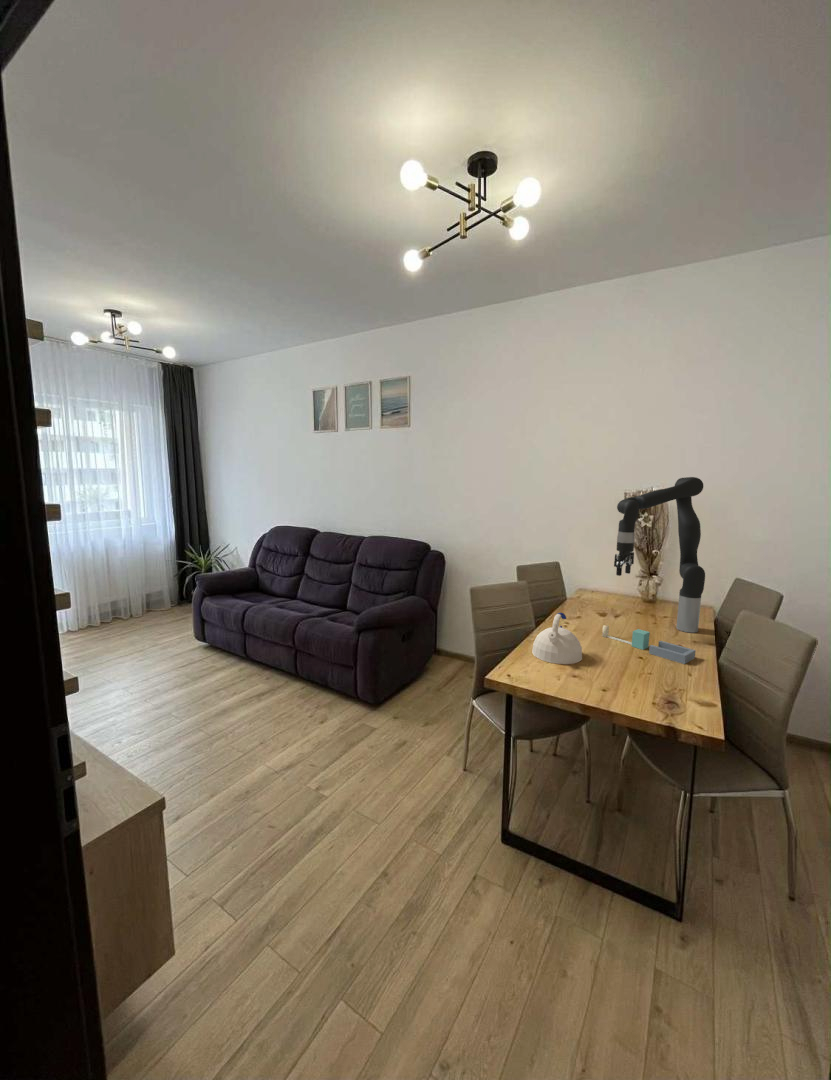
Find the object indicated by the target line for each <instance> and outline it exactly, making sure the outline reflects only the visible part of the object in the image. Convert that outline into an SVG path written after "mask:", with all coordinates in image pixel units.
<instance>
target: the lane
mask: <svg viewBox="0 0 831 1080" xmlns="http://www.w3.org/2000/svg"><path fill="white" fill-rule="evenodd" d="M657 645H658V646H657ZM657 645H653V644H649V647H648V650H649V651H648V654H649V655H653V656H656V657H659V658H662V659H667V660H670V661H672V662H676V663H680V664H683V665H686V664H687V663H689V662H691V661H693V660H695V659H696V649H693V648H688V647H685V646H681V645H679V644H674V643H670V642H668V641H663V640H659V641H658V644H657Z"/></svg>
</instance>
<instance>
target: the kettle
mask: <svg viewBox="0 0 831 1080" xmlns="http://www.w3.org/2000/svg"><path fill="white" fill-rule="evenodd" d="M566 619H567V616H566V613H563V612H558V613H556V614H555V615H554V618H553V621H552V627H547V628H546V629H543V630H542V631H540V632H539V633H538V634H537V636H536V637H535V639H534V641H533V644H532V651H531V652H532V655H533V656H534V657H535V658H537V659H538V660H541V661H543V662H547V663H550V664H556V665H572V664H577V663H579V662H580V661H582V660H583V647H582V646H581V642H580V640H579V639H578V637H577V636H576V635H575V634H574V633H573V632H572V631H570V630H569V629H566V628H564V627H563V625H560V626H559V624H560V620H566Z"/></svg>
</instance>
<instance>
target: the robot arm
mask: <svg viewBox="0 0 831 1080" xmlns="http://www.w3.org/2000/svg"><path fill="white" fill-rule="evenodd" d="M703 490H704V482H703V480H702V479H700V478H699V477H695V476H689V477H680V478H678V479H677V480H676V481H675V483H674V485H673V486H670V487H666V488H661V489H656V490H652V491H650V492H646V493H643V494H640V495H637V496H632V497H628V498H624V499H621V500H620V501H618V503H617V505H616V509H617V511H618V512H619V513H620V514H622V515H623V518H622V519H620V520H619V522H618V530H617V535H616V537H617V538H616V551H618V553H615V555H614V562H613V567H616V574H615V575H616V576H619V577H620V576H622V575H623V574H622V572H623V571H622V570H623V566H624V565H625V570H624V573H625V574H629V575H630V574H631V567H632V566H633V565H634V563H635V562H634V560H635V552H634V551H635V539H636V538H635V529H636V521H637V520H638V516H639V512H640V510H647V509H649V508H652V507H653V508H654V507H656V506H658V505H662V504H664V503H667V502H671V501H674V500H675V502H676V503H675V504H676V508H677V509H676V511H677V527H678V528H677V529H678V531H677V533H678V542H679V552H680V557H679V558H680V559H679V575H680V577H681V578H682V585H681V586H682V587H681V588H680V589H679V592H678V593H679V594H678V605H677V606H678V608H677V617H676V618H677V619H676V625H675V626H676V629H677V630H678V631H681V632H685V633H692V634H693V633H698V632H699V623H700V613H701V606H702V605H701V604H702V603H701V602H702V594H703V592H704V589H705V582H706V572H705V570H704V568H703V567H702V566H700V565H699V559H698V549H699V545H700V541H701V537H702V535H701V534H702V531H701V523H700V522H701V521H700V519H699V517H698V515H697V514H696V511H695V510H694V507H693V503H692V501H693V500H692V497H695V496H697V495H698V496H699V494H701V493H702V492H703Z"/></svg>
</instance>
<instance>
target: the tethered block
mask: <svg viewBox="0 0 831 1080" xmlns="http://www.w3.org/2000/svg"><path fill="white" fill-rule="evenodd" d="M609 629H610V626H609V625H605V624H604V625H602V632H601V633H602V635H601V636H602V637H603V638H608V639H612V640H615V641H619V642H622V643H624V644H625V643H626V644H629V645H631V647H633V648H636V649H639V650H642V651H643V650H646V649H649V647H650V633H651V632H650V631H648V630H644V629H640V628H637V629H635V630H632V637H631V641H628V640H625V639H621V638H618V637H614V636H612V635H609V631H610V630H609Z"/></svg>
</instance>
